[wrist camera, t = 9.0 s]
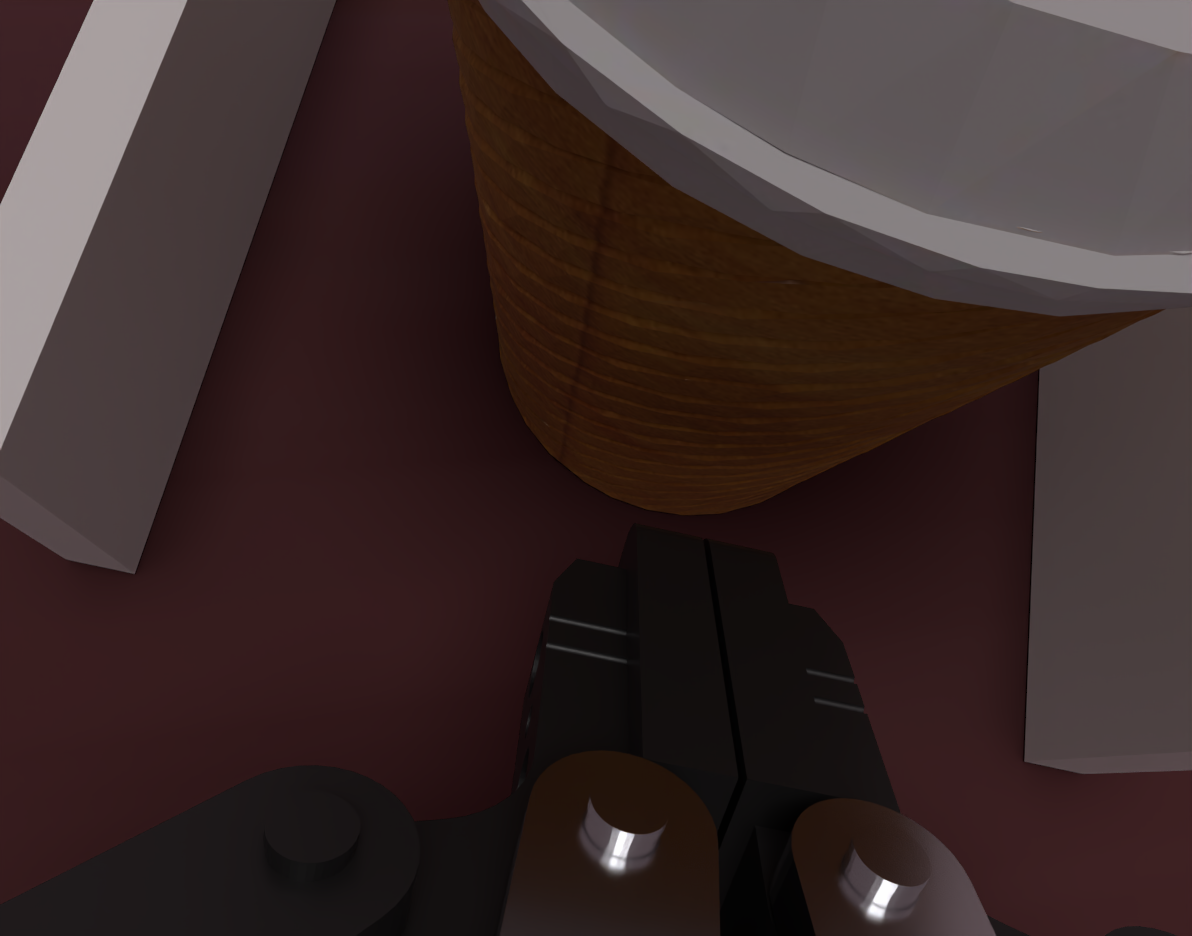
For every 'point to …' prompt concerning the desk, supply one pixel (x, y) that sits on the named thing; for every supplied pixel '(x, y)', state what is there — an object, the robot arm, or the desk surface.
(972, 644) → the desk surface
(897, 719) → the desk surface
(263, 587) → the desk surface
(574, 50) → the disposable coffee cup
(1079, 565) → the grey bay
